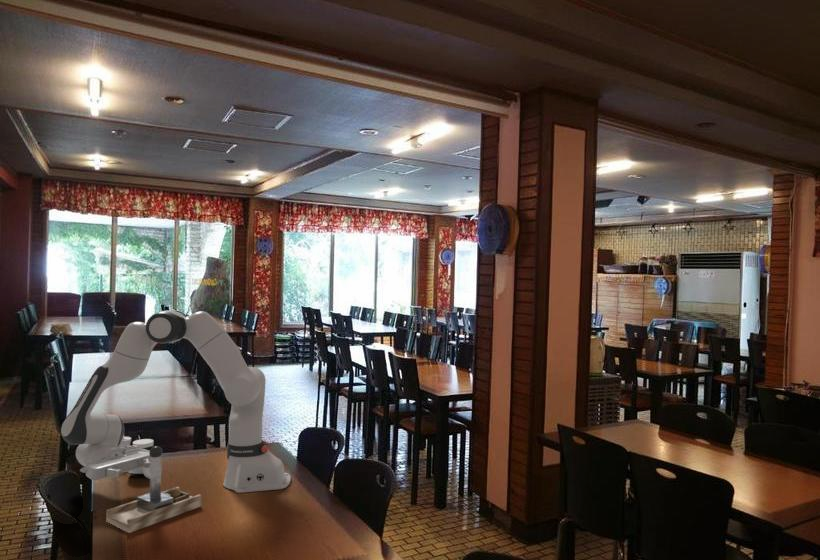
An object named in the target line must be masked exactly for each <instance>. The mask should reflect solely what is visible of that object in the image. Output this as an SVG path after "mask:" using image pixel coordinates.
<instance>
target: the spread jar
mask: <svg viewBox="0 0 820 560" xmlns="http://www.w3.org/2000/svg"><path fill="white" fill-rule="evenodd" d="M133 445H136V446H138V447H139V448H142V449H146V450H149V451H150V449H151V448H152V447H154V439H151V438H143V439H141V438H140V439H136V440H134V441H133V442H132V446H133ZM162 466H163V465H162V464H161V472H162V471H163V470H162V469H163V467H162ZM128 474H129V475H130V476H132V477H133V478H147V479H149V480H150V468H148V469H146V468H144V467H142V468H138V469H135V470H131V471H128Z"/></svg>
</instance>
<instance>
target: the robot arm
mask: <svg viewBox="0 0 820 560" xmlns="http://www.w3.org/2000/svg"><path fill="white" fill-rule="evenodd" d="M183 339H186V340H188V341H189V342H190V343H191V344H192V345H193V347H195V349H196V351H197V352H198V353H199V354H200V356H201V357H202V359H203V360H204V361H205V362H206V364H207V365H208V366H209V367H210V369H211V371H212V373H213V374H214V375H215V378H216V380H217V382H218V383H219V386H220V387H221V389H222V390H223V392H224V396H225V398H226V401H228V403H229V404H231V407H230V408H231V409H230V412H229V413H230V414H229V417H228V442H227V445H226V457H227V458H226V459H227V465H226V471H225V476H224V479H223V480H224V481H223V484H222V486H223V487H225V488H226V489H229V490H232V491H234V492H235V493H239V494H241V493H249V492H250V493H253V492H262V491H273V490H282V489H285V488H287V487H288V486H289V485H290V484H291V478H292V477H291V474H290V473H288V472H285V467H284V464H283V461H282V460H281V459H280V458H278V457H276V456H275V455H274V454H273V453H271V452H270V451H269V442H268V440H267V441H264V439H263V415H264V406H265V405H264V404H265V395H266V394H265V393H266V376H265V373H264V372H263V371H262V370H261V369H259V368H258V367H256V366H248V365H247V363H246V361H245V359H244V357H243V355H242V353H241V350H240V348H239V347H238V345H237V344H236V343H235V342H234V340H233V339H232V337H231V336H230V335H229V334H228V333H227V331H226V330H225V329H224V327H223V326H222V325H221V324H220V322H219V321H218V320H216V319H215V318H214V317H213V316H212V314H210V313H208V312H206V311H202V310H200V311H196V312H194V313H192V314H190V315H188V316H187V315H186V314H185V313H184V312H182V311H180V310H179V311H178V310H171V309H169V310H161V311H157V312H155V313H154V314H151V316H150V317H149V318H148V319H147V321H146V322H143V321H134V322H130V323H129V324H127V326H125V328H124V330H123V332H122V333H121V334H120V338H119V339H118V341H117V343H116V346H115V349H114V350H113V353H112V354H111V356H110V357H109V359H108V360H107V361H106V362H105V363H104V364H103V365H100V366H98V367H97V368H96V369H95V370H94V372H93V373H92V374H91V376H90V379H88V381H87V383H86V385H85V387H84V388H83V390H82V392H81V394H80V396H79V398H78V399H77V401H76V403H75V405H74V406H73V408H72V409H71V410H70V412H69V413H68V415H67V416H66V417H65V418H64V420H63V422H62V424H61V427H60V435H61V438H62V439H63V440H64V441H65V442H66V443H67V444H69V445H71V446H74V445H75V446H77V445H78V446H77V447H76V450H75V457H76V460H77V462H78V463H79V464H80V465H81V466H82V468H80V469H79V472H81V473H84V474H85V476H86V477H87V478H89V479H90V480H92V481H99V480H102V479H105V478H109V477H115V478H119V477H122V476H123V474H124V473H127V472H128V473H129V471H131V470H135V469H138V468H142V467H144V468H146V469H148V468H150V455H149V452H150V451H149V450H146V449H142V448H139V447H138V446H136V445H133V444H132V445H130V446H119V444H120V443H121V441H122V438H123V435H124V436H125V425H124V422H123V419H122V418H121V417H120V416H119V415H118V414H111V413H110V414H109V413H92V411H93V410H94V408H95V406H96V405H97V402H98V401H99V399H100V397H101V396H102V394H103V393H104V391H106V390H107V389H109V388H111V387H112V386H115V385H119V384H122V383H127V382H130V381H133V380H135V379H137V378H139V377H140V376H141V375H142V374H143V372H144V371H145V370H146V367H147V366H148V363H149V359H150V357H151V354H152V352H153V350H154V348H155V346H156V345H157V344H162V345H163V344H164V345H165V344H173V343H176V342H178V341H181V340H183Z"/></svg>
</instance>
